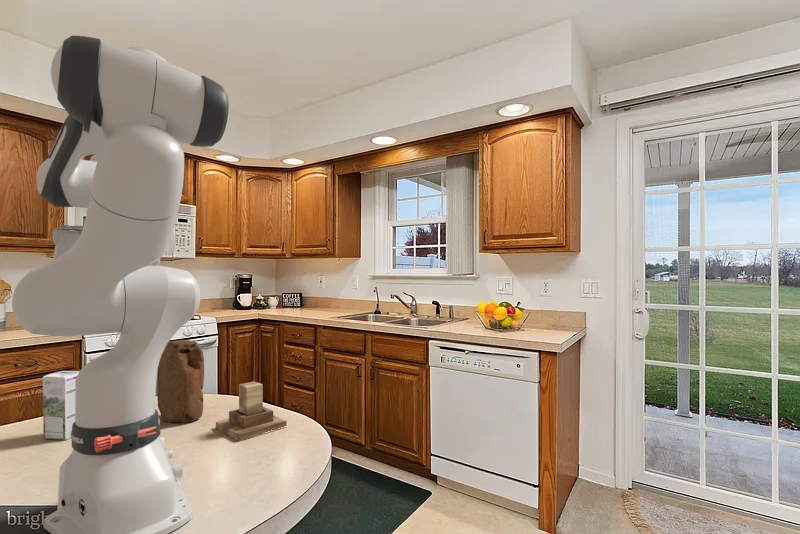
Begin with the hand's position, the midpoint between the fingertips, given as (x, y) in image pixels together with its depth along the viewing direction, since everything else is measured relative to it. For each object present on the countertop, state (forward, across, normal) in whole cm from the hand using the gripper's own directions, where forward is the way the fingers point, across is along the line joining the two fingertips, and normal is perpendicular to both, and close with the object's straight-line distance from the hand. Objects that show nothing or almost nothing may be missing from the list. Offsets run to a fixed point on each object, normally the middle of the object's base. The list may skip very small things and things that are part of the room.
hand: (109, 288), depth 100 cm
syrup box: (+34, -7, +9) cm, 36 cm away
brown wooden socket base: (+34, +25, -18) cm, 46 cm away
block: (+34, +16, +1) cm, 38 cm away
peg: (+32, +25, -18) cm, 45 cm away
